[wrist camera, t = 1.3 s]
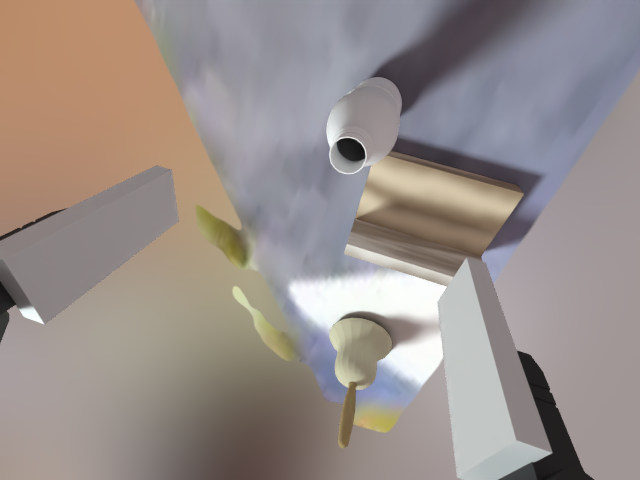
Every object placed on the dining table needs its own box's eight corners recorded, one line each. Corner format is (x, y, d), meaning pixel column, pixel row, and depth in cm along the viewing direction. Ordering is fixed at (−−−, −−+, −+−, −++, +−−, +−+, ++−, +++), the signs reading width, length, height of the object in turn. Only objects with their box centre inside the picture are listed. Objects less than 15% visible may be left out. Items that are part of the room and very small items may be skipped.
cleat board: (377, 146, 45) (369, 171, 37) (518, 185, 43) (545, 221, 35) (354, 219, 54) (343, 253, 45) (471, 255, 52) (484, 298, 43)
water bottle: (411, 88, 40) (415, 131, 20) (386, 136, 44) (368, 212, 24) (365, 66, 40) (321, 87, 20) (345, 116, 44) (292, 176, 24)
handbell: (375, 361, 76) (363, 475, 56) (323, 338, 76) (292, 443, 56) (404, 329, 66) (402, 452, 46) (344, 303, 67) (316, 414, 47)
